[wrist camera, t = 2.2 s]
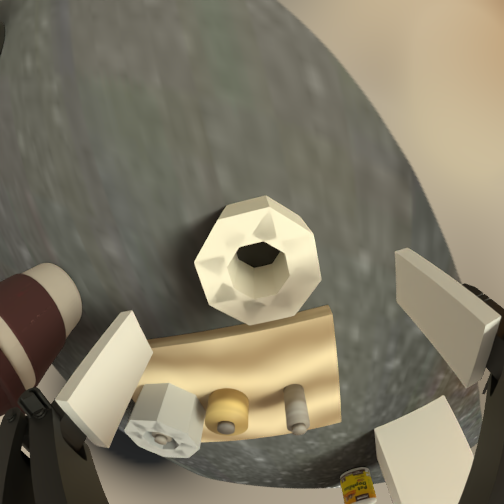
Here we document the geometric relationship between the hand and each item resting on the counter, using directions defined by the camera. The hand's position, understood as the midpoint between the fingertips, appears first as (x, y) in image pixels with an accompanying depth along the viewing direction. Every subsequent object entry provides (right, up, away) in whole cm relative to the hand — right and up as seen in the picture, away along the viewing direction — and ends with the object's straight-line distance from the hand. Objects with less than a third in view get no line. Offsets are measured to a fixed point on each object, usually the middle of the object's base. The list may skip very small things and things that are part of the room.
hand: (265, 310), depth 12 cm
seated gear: (-9, -14, +13) cm, 21 cm away
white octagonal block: (0, +3, +8) cm, 9 cm away
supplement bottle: (+18, -37, +22) cm, 47 cm away
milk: (+24, -25, +18) cm, 39 cm away
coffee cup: (-21, -2, +10) cm, 23 cm away
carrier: (-3, -12, +13) cm, 18 cm away
